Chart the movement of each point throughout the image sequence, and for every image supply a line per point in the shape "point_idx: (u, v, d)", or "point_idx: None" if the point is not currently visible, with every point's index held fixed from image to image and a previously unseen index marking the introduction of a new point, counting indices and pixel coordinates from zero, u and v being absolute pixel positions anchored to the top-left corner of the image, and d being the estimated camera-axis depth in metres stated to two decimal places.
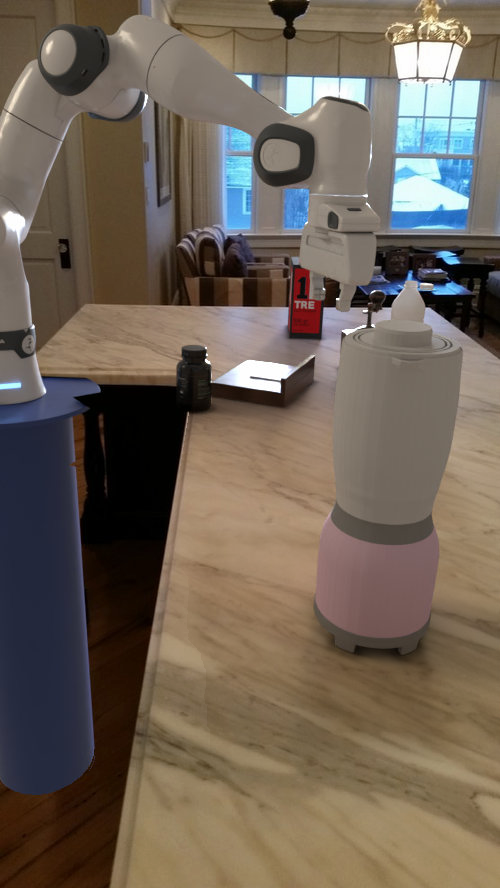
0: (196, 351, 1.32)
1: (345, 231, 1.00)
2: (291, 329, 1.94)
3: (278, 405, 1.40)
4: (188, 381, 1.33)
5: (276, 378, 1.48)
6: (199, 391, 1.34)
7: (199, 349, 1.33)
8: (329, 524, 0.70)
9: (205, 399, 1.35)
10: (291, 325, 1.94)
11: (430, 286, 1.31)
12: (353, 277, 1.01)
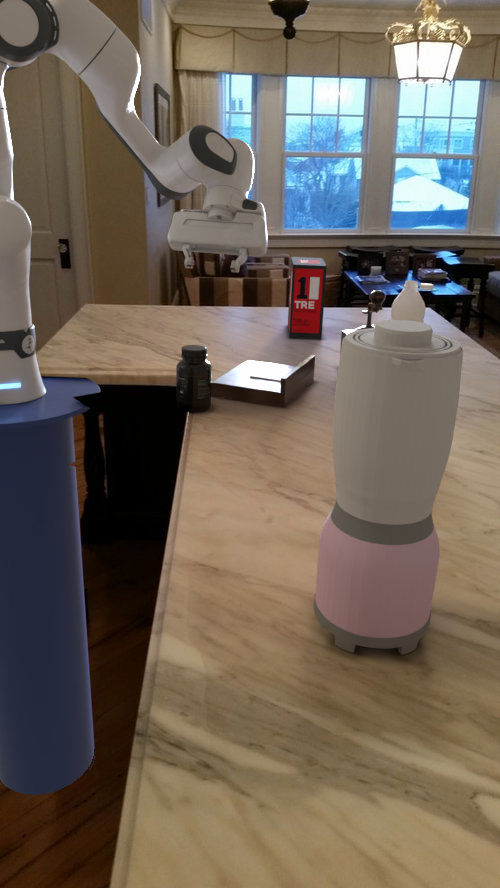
0: (196, 351, 1.32)
1: (261, 213, 1.40)
2: (291, 329, 1.94)
3: (278, 405, 1.40)
4: (188, 381, 1.33)
5: (276, 378, 1.48)
6: (199, 391, 1.34)
7: (199, 349, 1.33)
8: (329, 524, 0.70)
9: (205, 399, 1.35)
10: (291, 325, 1.94)
11: (430, 286, 1.31)
12: (265, 243, 1.39)
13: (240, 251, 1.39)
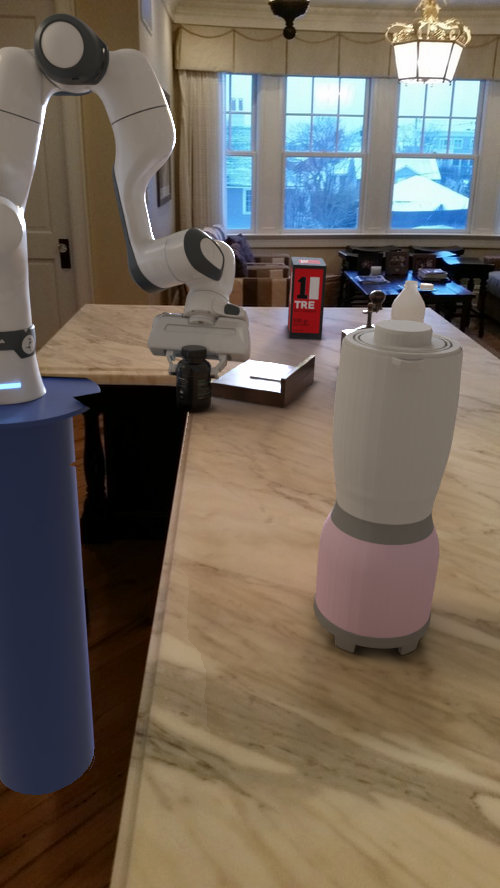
0: (196, 351, 1.32)
1: (243, 318, 1.37)
2: (291, 329, 1.94)
3: (278, 405, 1.40)
4: (188, 381, 1.33)
5: (276, 378, 1.48)
6: (199, 391, 1.34)
7: (199, 349, 1.33)
8: (329, 524, 0.70)
9: (204, 399, 1.35)
10: (291, 325, 1.94)
11: (430, 286, 1.31)
12: (248, 349, 1.35)
13: (219, 357, 1.35)
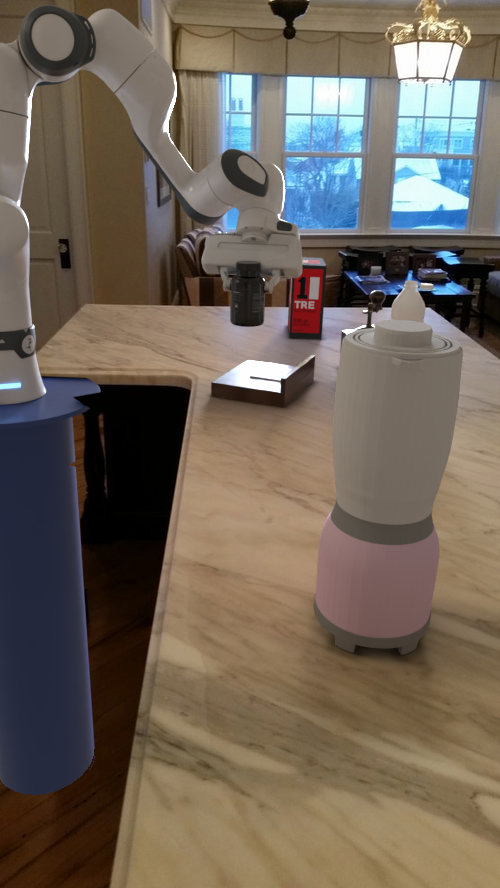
0: (251, 264, 1.34)
1: (296, 234, 1.39)
2: (291, 329, 1.94)
3: (278, 405, 1.40)
4: (243, 294, 1.36)
5: (276, 378, 1.48)
6: (253, 305, 1.36)
7: (254, 263, 1.35)
8: (329, 524, 0.70)
9: (259, 313, 1.38)
10: (291, 325, 1.94)
11: (430, 286, 1.31)
12: (301, 263, 1.37)
13: (273, 272, 1.38)
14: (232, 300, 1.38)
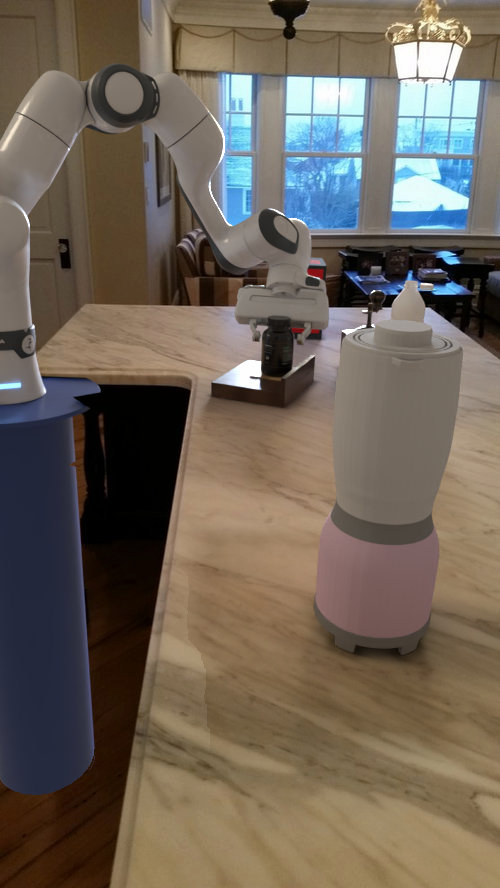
0: (282, 320, 1.45)
1: (323, 289, 1.49)
2: (291, 329, 1.94)
3: (278, 405, 1.40)
4: (274, 348, 1.46)
5: (276, 378, 1.48)
6: (283, 357, 1.47)
7: (284, 318, 1.46)
8: (329, 524, 0.70)
9: (288, 364, 1.48)
10: None
11: (430, 286, 1.31)
12: (328, 317, 1.48)
13: (305, 325, 1.48)
14: (263, 352, 1.48)
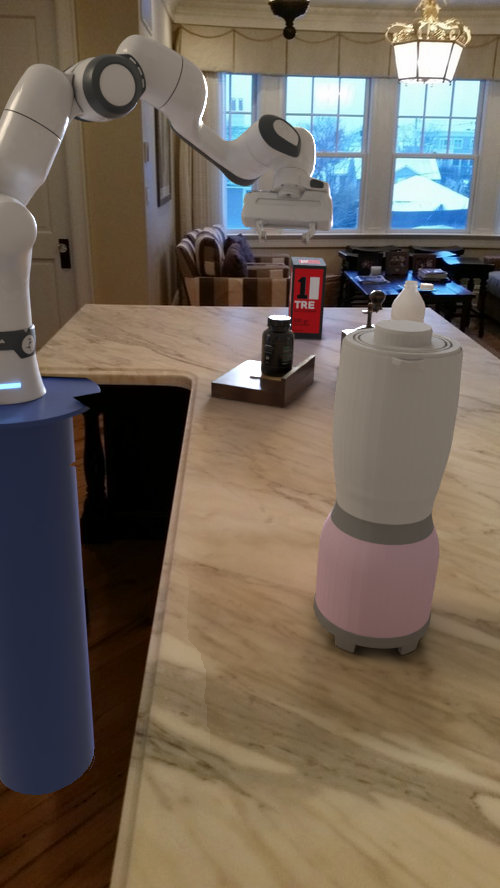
0: (282, 320, 1.45)
1: (327, 191, 1.54)
2: (291, 329, 1.94)
3: (278, 405, 1.40)
4: (274, 348, 1.46)
5: (276, 378, 1.48)
6: (283, 357, 1.47)
7: (284, 318, 1.46)
8: (329, 524, 0.70)
9: (288, 364, 1.48)
10: (291, 325, 1.94)
11: (430, 286, 1.31)
12: (332, 217, 1.52)
13: (310, 225, 1.52)
14: (263, 352, 1.48)
